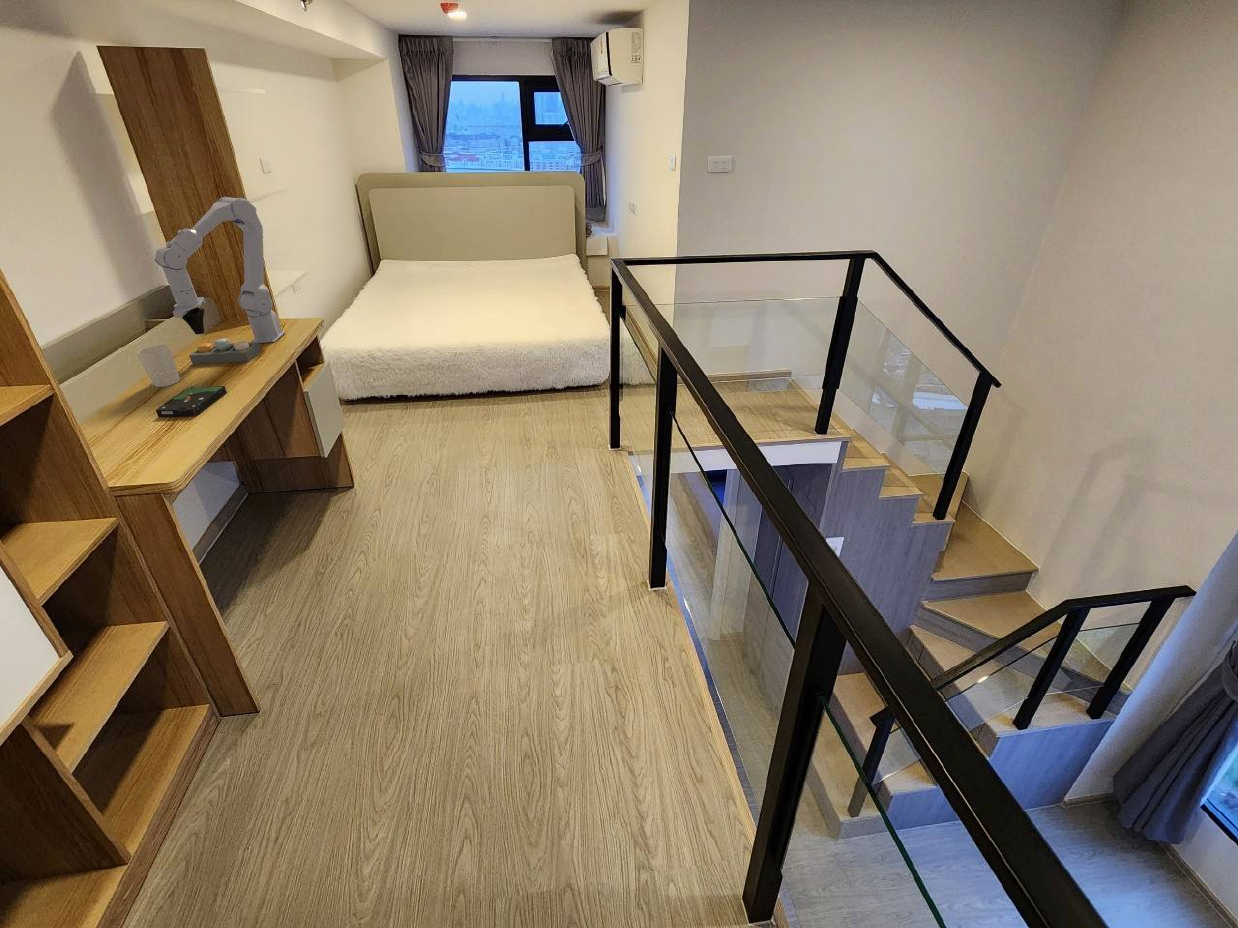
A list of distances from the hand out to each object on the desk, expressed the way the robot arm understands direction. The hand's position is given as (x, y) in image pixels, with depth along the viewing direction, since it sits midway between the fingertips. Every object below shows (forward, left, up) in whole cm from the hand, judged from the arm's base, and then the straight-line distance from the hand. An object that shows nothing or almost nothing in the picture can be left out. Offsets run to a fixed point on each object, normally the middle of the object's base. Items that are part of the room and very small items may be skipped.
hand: (200, 333), depth 194 cm
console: (0, +5, -8) cm, 10 cm away
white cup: (+18, -4, -8) cm, 20 cm away
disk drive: (+35, +12, -9) cm, 38 cm away
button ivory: (0, +11, -6) cm, 13 cm away
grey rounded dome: (0, +5, -5) cm, 8 cm away
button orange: (0, 0, -6) cm, 6 cm away
